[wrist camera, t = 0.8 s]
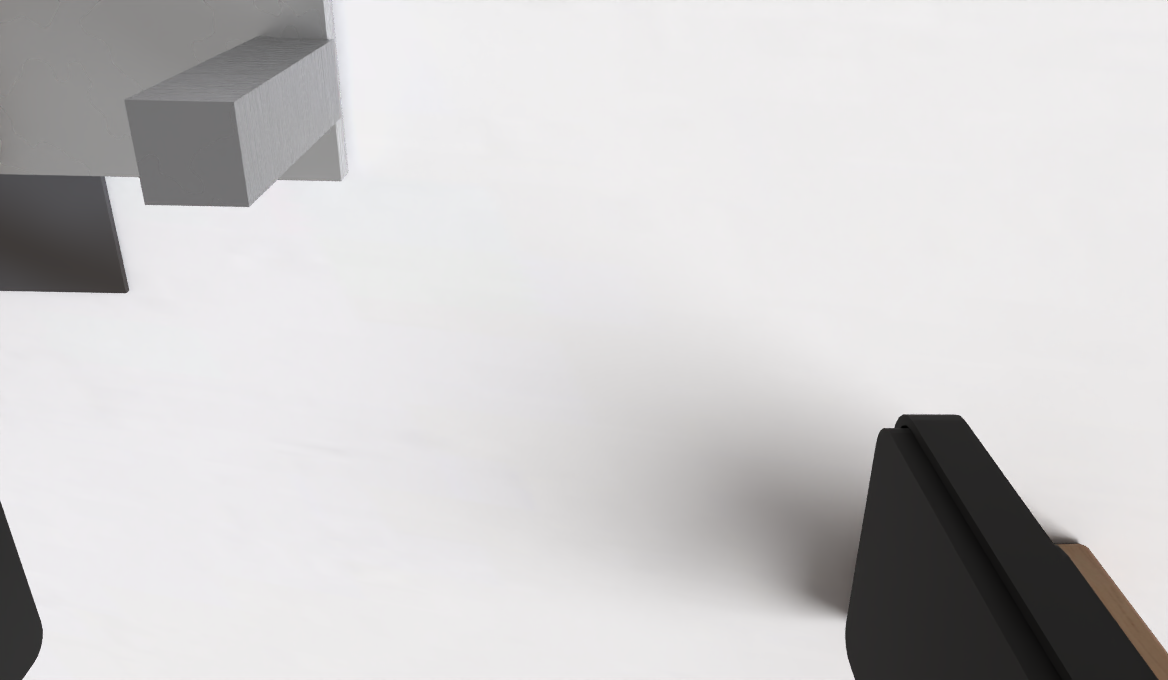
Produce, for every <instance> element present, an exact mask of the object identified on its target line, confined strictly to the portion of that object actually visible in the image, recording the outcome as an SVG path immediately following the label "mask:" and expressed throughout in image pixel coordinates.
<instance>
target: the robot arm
mask: <svg viewBox="0 0 1168 680" xmlns="http://www.w3.org/2000/svg"><path fill="white" fill-rule="evenodd" d="M42 639H43V629H42V624H41V620H40V617H39V614H38V612H37V609H36V606H35V603H34V600H33V597H32V594H31V591H30V588H29V585H28V582H27V579H26V576H25V573H24V570H23V567H22V564H21V561H20V558H19V555H18V552H17V549H16V546H15V543H14V540H13V537H12V534H11V531H10V528H9V526H8V523H7V520H6V517H5V514H4V511H3V508H2V505H1V502H0V680H22V679H23V678H24V676H25V675H26V673H27V672H28V671H29V669H30V668H31V666H32V665H33V663H34V662H35V660H36V658H37V656H38V654H39V651H40V648H41V644H42ZM845 639H846V649H847V655H848V659H849V663H850V666H851V669H852V672H853V675H854V678H855V680H1159V679H1158V678H1157V677H1156V675H1155V674H1154V673H1153V671H1152V670H1151V668H1150V667H1149V666H1148V664H1147V663H1146V662H1145V660H1144V659H1143V657H1142V656H1141V655H1140V653H1139V652H1138V651H1137V649H1136V648H1135V646H1134V645H1133V644H1132V642H1131V641H1130V640H1129V638H1128V637H1127V635H1126V634H1125V633H1124V631H1123V630H1122V629H1121V627H1120V626H1119V624H1118V623H1117V622H1116V620H1115V619H1114V618H1113V616H1112V615H1111V613H1110V612H1109V611H1108V609H1107V608H1106V607H1105V605H1104V604H1103V602H1102V601H1101V600H1100V598H1099V597H1098V596H1097V594H1096V593H1095V591H1094V590H1093V589H1092V587H1091V586H1090V585H1089V583H1088V582H1087V580H1086V579H1085V578H1084V576H1083V575H1082V574H1081V572H1080V571H1079V569H1078V568H1077V567H1076V565H1075V564H1074V563H1073V561H1072V560H1071V558H1070V557H1069V556H1068V555H1067V554H1066V553H1065V552H1064V551H1063V550H1062V549H1061V548H1060V547H1059V546H1058V545H1056V544H1053V542H1052V541H1051V540H1050V538H1049V537H1048V536H1047V534H1046V533H1045V531H1044V530H1043V529H1042V527H1041V526H1040V524H1039V523H1038V522H1037V520H1036V519H1035V517H1034V516H1033V515H1032V513H1031V512H1030V510H1029V509H1028V508H1027V506H1026V505H1025V503H1024V502H1023V501H1022V499H1021V498H1020V496H1019V495H1018V494H1017V492H1016V491H1015V490H1014V488H1013V487H1012V485H1011V484H1010V483H1009V481H1008V480H1007V478H1006V477H1005V476H1004V474H1003V473H1002V471H1001V470H1000V469H999V467H998V466H997V464H996V463H995V462H994V460H993V459H992V457H991V456H990V455H989V453H988V452H987V451H986V449H985V448H984V446H983V445H982V444H981V442H980V441H979V439H978V438H977V437H976V435H975V434H974V432H973V431H972V430H971V428H970V427H969V425H968V424H967V423H966V421H965V420H964V419H963V418H962V417H961V416H960V415H902V416H900V417H899V418H898V420H897V422H896V424H895V428H883V429H882V430H881V431H880V433H879V435H878V438H877V442H876V448H875V453H874V459H873V465H872V471H871V477H870V483H869V489H868V495H867V501H866V507H865V513H864V519H863V525H862V531H861V537H860V543H859V549H858V555H857V561H856V567H855V573H854V579H853V585H852V591H851V597H850V603H849V609H848V615H847V621H846V630H845Z"/></svg>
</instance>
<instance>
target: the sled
mask: <svg viewBox="0 0 1168 680" xmlns="http://www.w3.org/2000/svg"><path fill="white" fill-rule="evenodd" d="M347 173H348V164H347V154H346V144H345V133H344V123H343V112H342V102H341V91H340V81H339V70H338V60H337V49H336V39H335V28H334V18H333V7H332V0H0V174H18V175H67V176H115V177H140V182H141V187H142V192H143V197H144V202H145V205H183V206H232V207H250V206H251V205H252V204H253V203H254V202H255V201H256V200H257V199H258V198H259V197H260V196H261V195H262V194H263V193H264V192H265V191H266V190H267V189H268V188H269V187H270V186H271V185H272V184H273V183H274V182H275V181H276V180H309V181H342V180H343V178H344V177H345V176H346V175H347Z"/></svg>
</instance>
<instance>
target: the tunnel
mask: <svg viewBox="0 0 1168 680" xmlns="http://www.w3.org/2000/svg"><path fill="white" fill-rule="evenodd" d="M0 291H41V292H92V293H127V292H128V291H129V288H128V283H127V279H126V274H125V269H124V265H123V260H122V255H121V251H120V246H119V242H118V237H117V232H116V228H115V223H114V219H113V214H112V209H111V205H110V200H109V196H108V191H107V186H106V182H105V177H104V176H67V175H18V174H0Z"/></svg>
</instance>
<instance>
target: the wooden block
mask: <svg viewBox="0 0 1168 680" xmlns="http://www.w3.org/2000/svg"><path fill="white" fill-rule="evenodd" d="M1056 545H1058V546H1059V547H1060V548H1061V549H1062V550H1063V551H1064V552H1065V553H1066V554H1067V555H1068V556H1069V557H1070V558H1071V560H1072V561H1073V563H1074V564H1075V565H1076V567H1077V568H1078V569H1079V571H1080V572H1081V574H1082V575H1083V576H1084V578H1085V579H1086V580H1087V582H1088V583H1089V585H1090V586H1091V587H1092V589H1093V590H1094V591H1095V593H1096V594H1097V596H1098V597H1099V598H1100V600H1101V601H1102V602H1103V604H1104V605H1105V607H1106V608H1107V609H1108V611H1109V612H1110V613H1111V615H1112V616H1113V618H1114V619H1115V620H1116V622H1117V623H1118V624H1119V626H1120V627H1121V629H1122V630H1123V631H1124V633H1125V634H1126V635H1127V637H1128V638H1129V640H1130V641H1131V642H1132V644H1133V645H1134V646H1135V648H1136V649H1137V651H1138V652H1139V653H1140V655H1141V656H1142V657H1143V659H1144V660H1145V662H1146V663H1147V664H1148V666H1149V667H1150V668H1151V670H1152V671H1153V673H1154V674H1155V675H1156V677H1157V678H1158V679H1159V680H1168V653H1167V652H1166V650H1165V649H1164V648H1163V646H1162V645H1161V644H1160V642H1159V641H1158V640H1157V638H1156V637H1155V636H1154V634H1153V633H1152V632H1151V630H1150V629H1149V628H1148V626H1147V625H1146V624H1145V622H1144V621H1143V620H1142V618H1141V617H1140V616H1139V614H1138V613H1137V612H1136V610H1135V609H1134V608H1133V607H1132V605H1131V604H1130V603H1129V601H1128V600H1127V599H1126V597H1125V596H1124V595H1123V593H1122V592H1121V591H1120V589H1119V588H1118V587H1117V585H1116V584H1115V583H1114V581H1113V580H1112V579H1111V577H1110V576H1109V575H1108V573H1107V572H1106V571H1105V569H1104V568H1103V567H1102V565H1101V564H1100V563H1099V562H1098V560H1097V559H1096V558H1095V556H1094V555H1093V554H1092V552H1091V551H1090V550H1089V548H1087V547H1086V546H1084V545H1081V544H1056Z"/></svg>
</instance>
